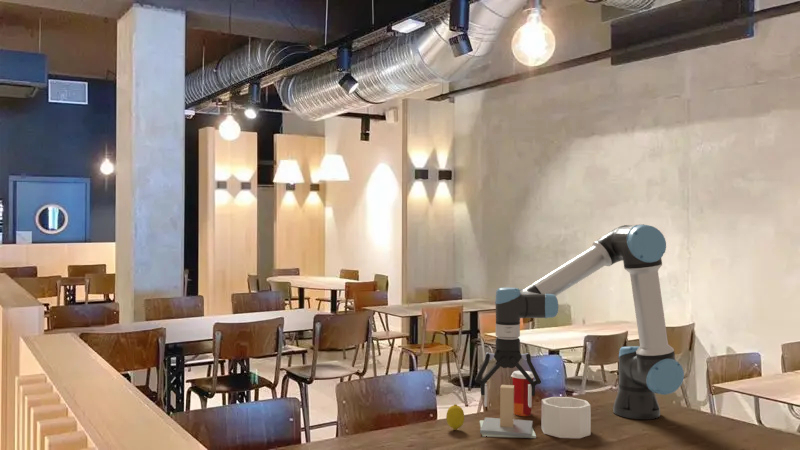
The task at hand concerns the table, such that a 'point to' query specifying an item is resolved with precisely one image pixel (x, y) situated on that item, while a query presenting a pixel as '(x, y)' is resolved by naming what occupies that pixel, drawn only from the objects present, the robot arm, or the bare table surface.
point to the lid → (507, 418)
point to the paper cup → (521, 393)
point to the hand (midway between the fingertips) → (507, 406)
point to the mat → (506, 435)
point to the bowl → (566, 417)
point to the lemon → (455, 417)
